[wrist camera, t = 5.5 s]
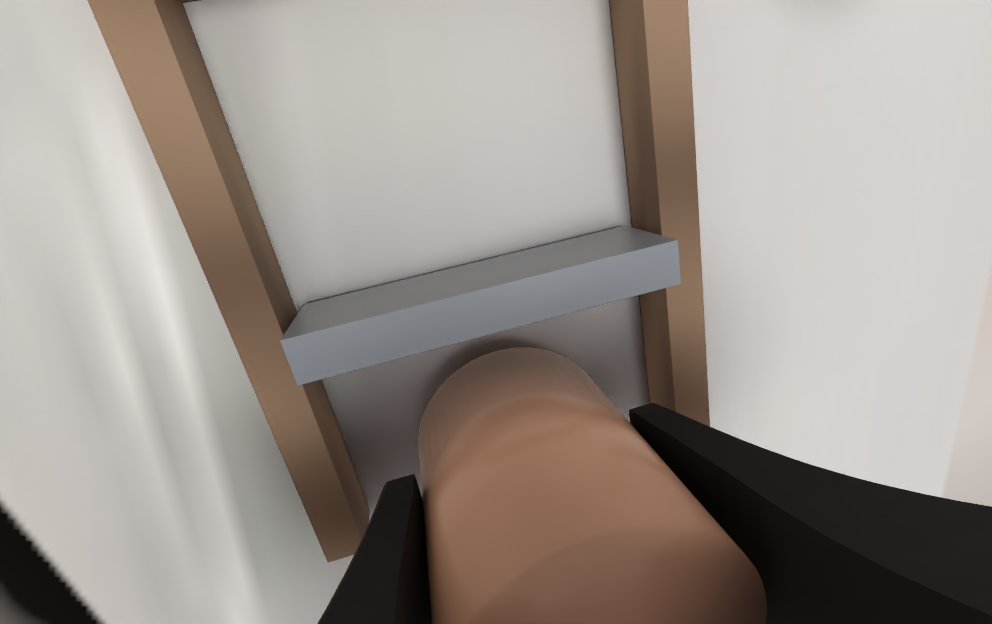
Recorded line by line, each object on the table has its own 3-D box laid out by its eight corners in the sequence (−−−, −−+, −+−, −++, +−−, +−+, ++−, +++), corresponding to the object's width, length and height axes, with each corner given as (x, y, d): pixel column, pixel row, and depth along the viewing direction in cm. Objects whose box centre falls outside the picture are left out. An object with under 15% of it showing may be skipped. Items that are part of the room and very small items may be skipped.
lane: (681, 415, 15) (721, 452, 13) (335, 521, 14) (325, 578, 12) (639, -127, 10) (694, -192, 8) (104, -49, 9) (25, -106, 7)
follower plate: (628, 261, 13) (680, 283, 10) (317, 341, 12) (298, 385, 9) (624, 225, 12) (678, 239, 10) (303, 304, 11) (279, 340, 9)
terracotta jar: (612, 482, 13) (766, 712, 8) (443, 535, 13) (480, 826, 7) (591, 324, 12) (768, 478, 6) (395, 378, 11) (394, 602, 6)
